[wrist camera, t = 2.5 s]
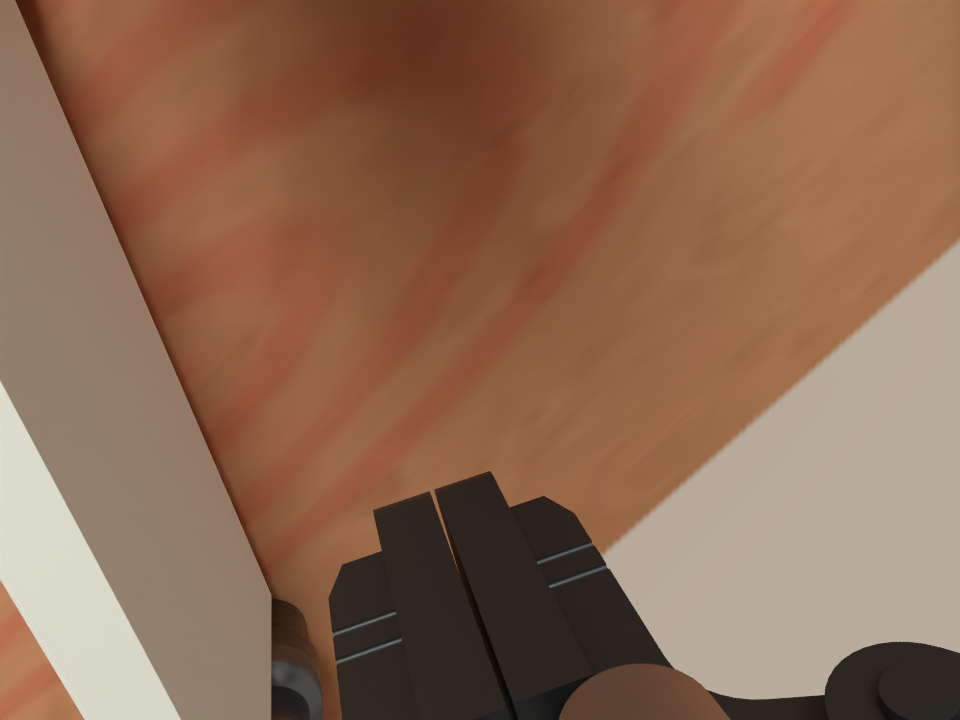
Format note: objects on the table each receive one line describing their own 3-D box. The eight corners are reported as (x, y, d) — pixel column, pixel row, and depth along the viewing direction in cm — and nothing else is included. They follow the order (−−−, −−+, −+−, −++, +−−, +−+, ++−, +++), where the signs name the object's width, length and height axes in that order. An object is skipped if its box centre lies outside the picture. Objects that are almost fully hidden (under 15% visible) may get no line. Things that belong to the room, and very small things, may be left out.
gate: (278, 582, 27) (282, 905, 17) (218, 602, 27) (187, 941, 17) (-18, -120, 19) (-341, -267, 9) (-110, -99, 19) (-547, -227, 9)
